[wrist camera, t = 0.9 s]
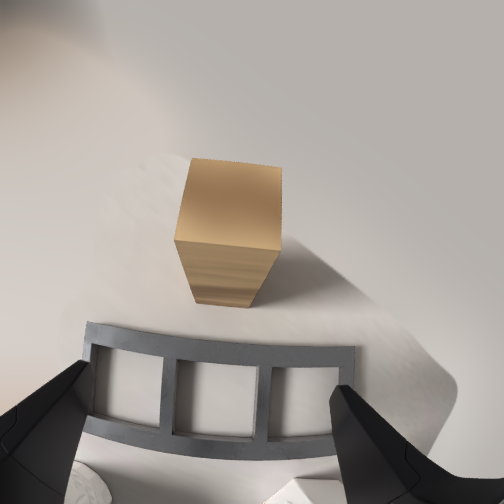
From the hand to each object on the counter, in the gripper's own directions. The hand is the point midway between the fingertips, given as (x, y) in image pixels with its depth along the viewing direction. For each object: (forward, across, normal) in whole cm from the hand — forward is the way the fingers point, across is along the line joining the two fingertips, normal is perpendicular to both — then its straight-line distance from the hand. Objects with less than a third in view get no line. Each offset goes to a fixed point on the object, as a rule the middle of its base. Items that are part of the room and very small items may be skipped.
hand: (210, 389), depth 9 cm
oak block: (+15, 0, +4) cm, 16 cm away
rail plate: (+8, 0, +12) cm, 14 cm away
